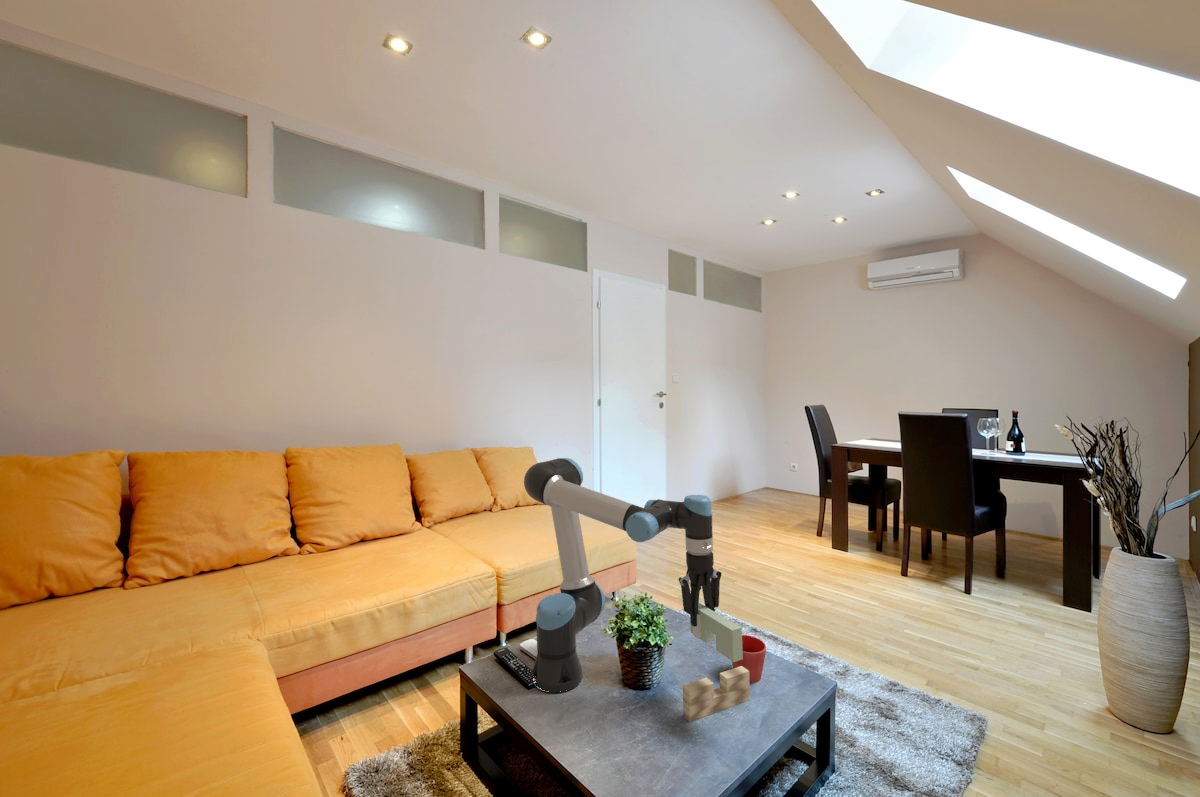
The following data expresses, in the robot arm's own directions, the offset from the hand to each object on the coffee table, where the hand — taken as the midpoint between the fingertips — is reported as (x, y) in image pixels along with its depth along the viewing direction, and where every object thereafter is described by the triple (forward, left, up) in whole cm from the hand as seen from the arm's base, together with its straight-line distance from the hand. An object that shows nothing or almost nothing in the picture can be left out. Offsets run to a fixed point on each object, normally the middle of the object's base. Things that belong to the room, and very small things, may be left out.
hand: (702, 634), depth 135 cm
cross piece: (+4, -4, 0) cm, 6 cm away
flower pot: (+11, +14, -17) cm, 25 cm away
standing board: (+4, -4, -17) cm, 18 cm away
